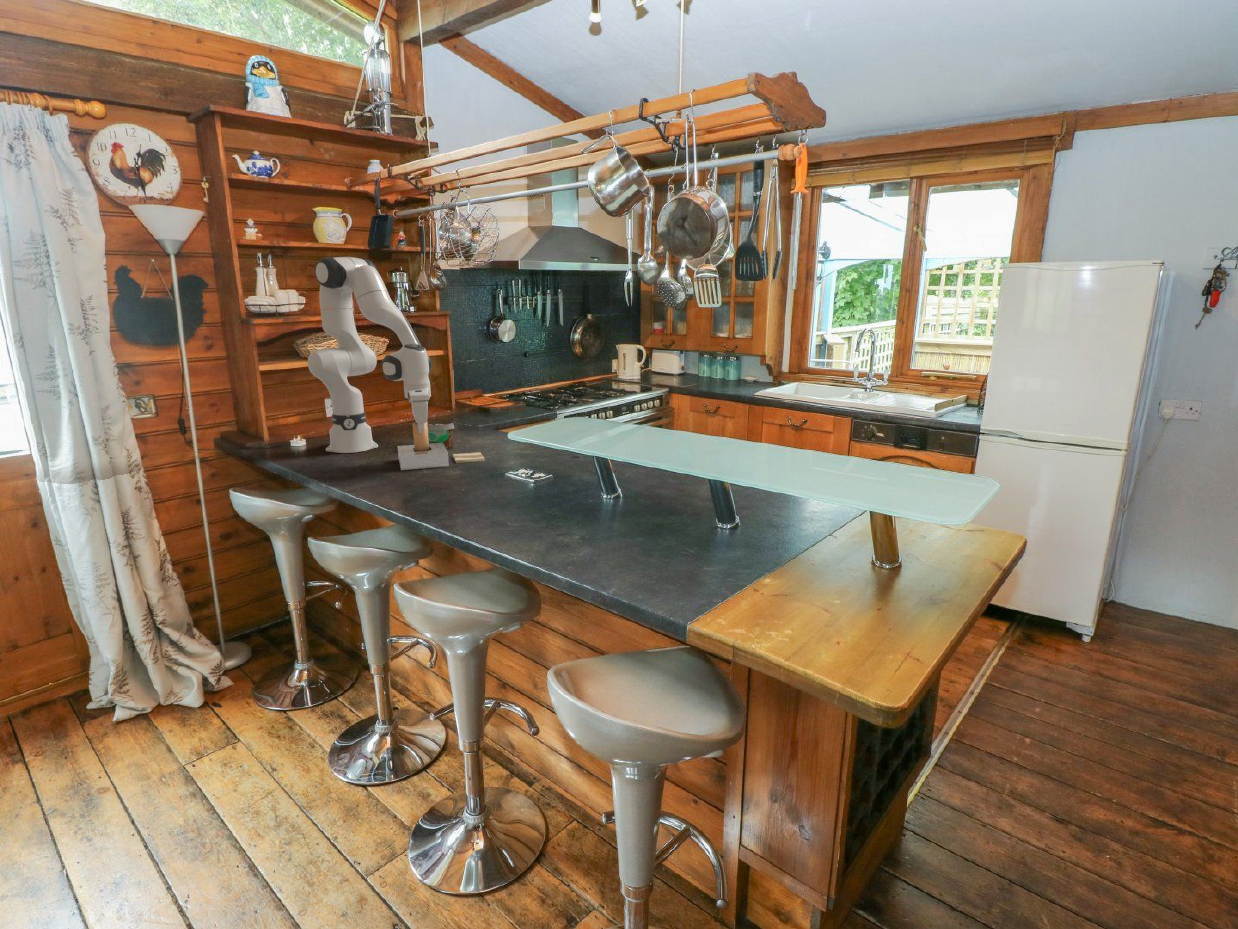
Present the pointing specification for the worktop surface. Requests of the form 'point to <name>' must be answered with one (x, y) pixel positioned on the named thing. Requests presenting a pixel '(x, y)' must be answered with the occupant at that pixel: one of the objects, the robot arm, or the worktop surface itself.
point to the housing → (423, 457)
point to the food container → (441, 434)
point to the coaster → (468, 457)
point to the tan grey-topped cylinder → (420, 438)
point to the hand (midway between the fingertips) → (420, 430)
